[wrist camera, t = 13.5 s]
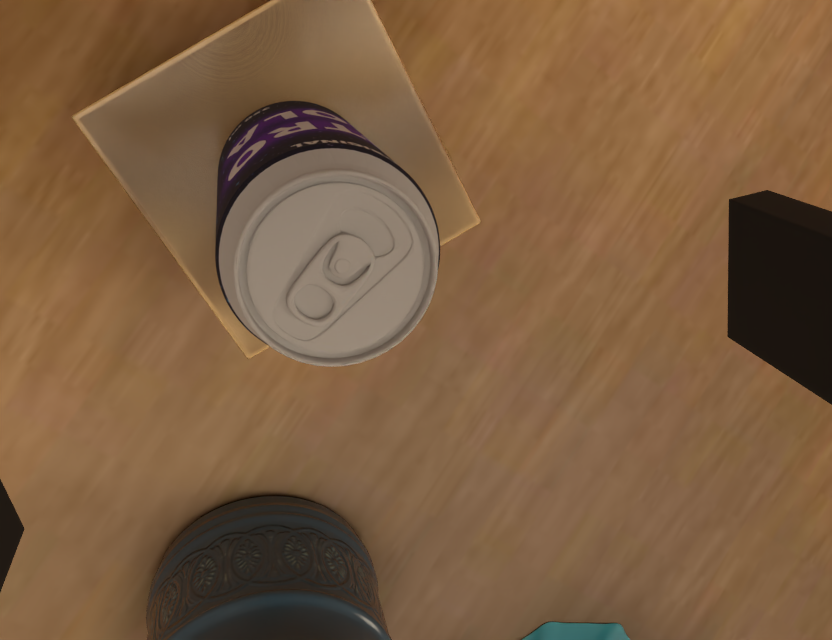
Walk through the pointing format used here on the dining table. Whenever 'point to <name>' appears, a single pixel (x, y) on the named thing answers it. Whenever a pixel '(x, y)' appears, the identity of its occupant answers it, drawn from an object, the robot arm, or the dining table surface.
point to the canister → (266, 577)
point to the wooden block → (244, 94)
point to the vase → (578, 632)
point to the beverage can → (321, 237)
